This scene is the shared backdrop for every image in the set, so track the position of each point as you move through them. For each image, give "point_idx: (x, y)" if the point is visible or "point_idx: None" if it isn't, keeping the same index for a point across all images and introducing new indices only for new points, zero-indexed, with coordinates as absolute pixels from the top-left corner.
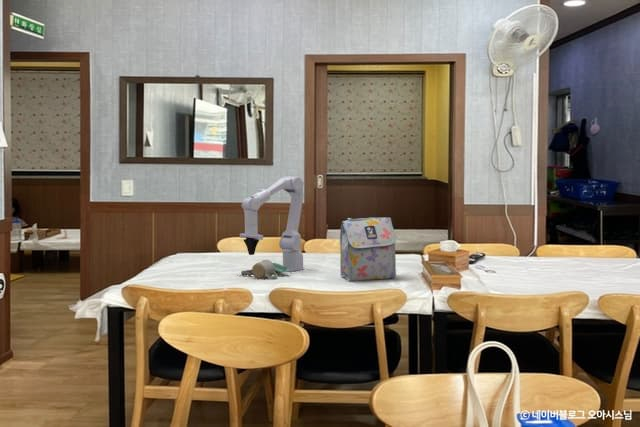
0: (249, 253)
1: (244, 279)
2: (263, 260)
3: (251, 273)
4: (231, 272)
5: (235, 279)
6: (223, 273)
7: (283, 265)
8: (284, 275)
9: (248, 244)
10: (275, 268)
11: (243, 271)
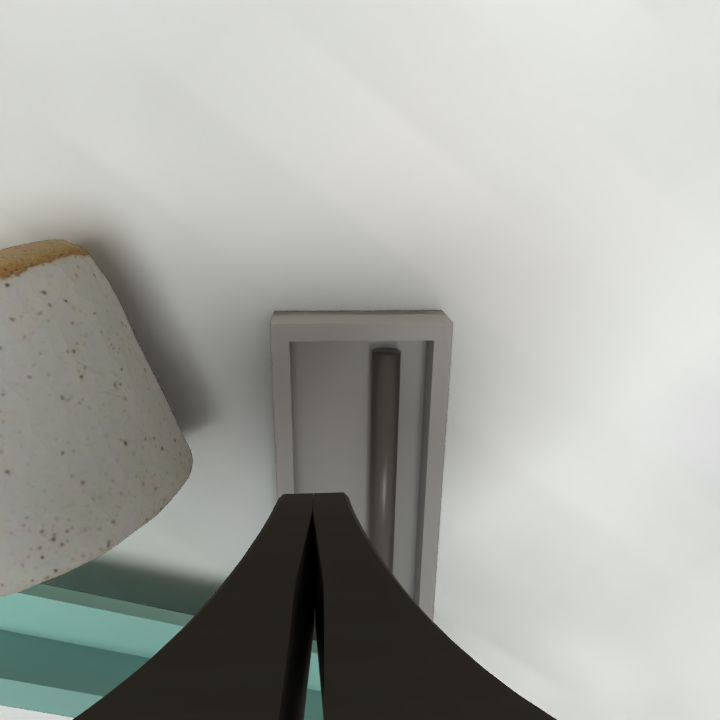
0: (310, 502)
1: (120, 116)
2: (20, 531)
3: (272, 351)
4: (681, 342)
5: (205, 18)
6: (713, 226)
7: (38, 710)
8: None
9: (267, 659)
10: None
11: (405, 322)
